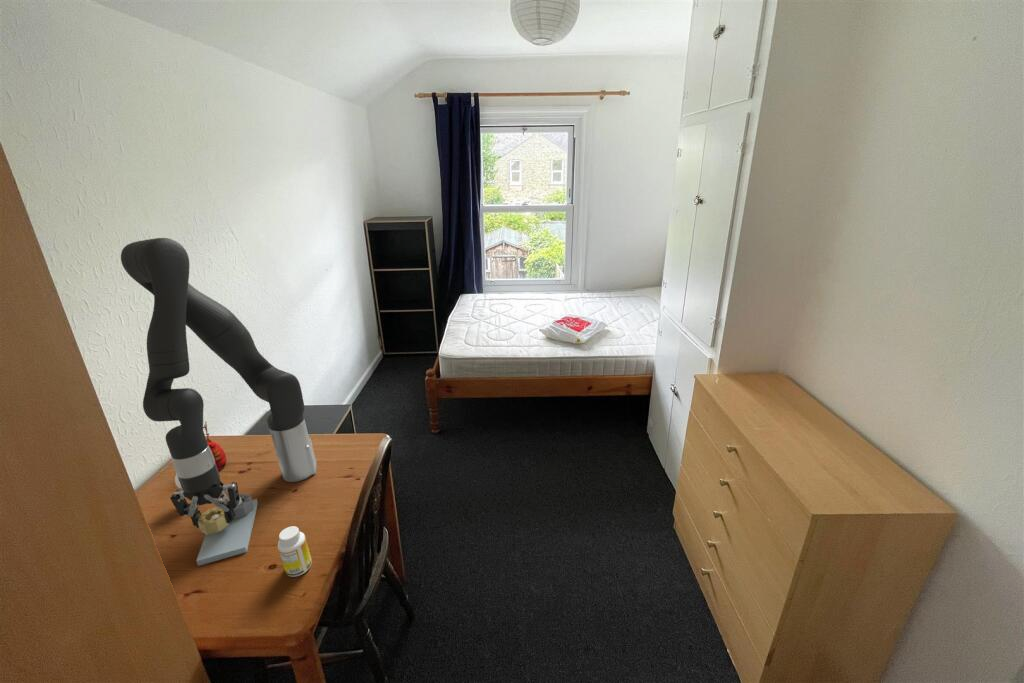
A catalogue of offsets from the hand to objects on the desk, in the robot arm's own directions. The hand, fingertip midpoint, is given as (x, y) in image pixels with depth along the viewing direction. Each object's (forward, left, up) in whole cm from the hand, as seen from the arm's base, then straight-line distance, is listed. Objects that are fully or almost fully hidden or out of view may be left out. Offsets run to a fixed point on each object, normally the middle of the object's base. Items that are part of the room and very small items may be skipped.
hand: (215, 522), depth 109 cm
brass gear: (0, 0, -1) cm, 1 cm away
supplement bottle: (-19, +19, -4) cm, 28 cm away
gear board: (-2, 0, -4) cm, 4 cm away
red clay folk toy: (+8, -33, -4) cm, 34 cm away
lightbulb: (+9, -17, -4) cm, 19 cm away
